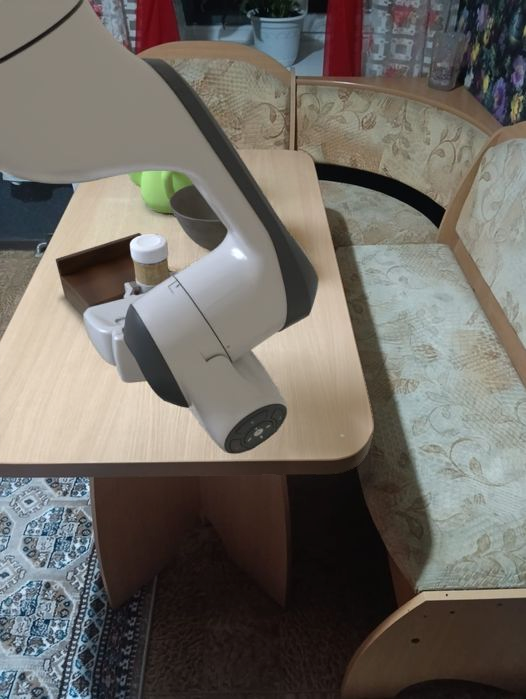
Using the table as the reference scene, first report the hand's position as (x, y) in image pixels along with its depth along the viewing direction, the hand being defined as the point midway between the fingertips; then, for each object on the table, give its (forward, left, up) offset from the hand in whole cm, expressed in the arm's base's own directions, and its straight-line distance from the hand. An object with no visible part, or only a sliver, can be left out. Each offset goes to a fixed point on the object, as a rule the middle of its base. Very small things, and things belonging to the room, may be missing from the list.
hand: (151, 281), depth 71 cm
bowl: (+25, +33, -17) cm, 45 cm away
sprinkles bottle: (0, -1, -7) cm, 7 cm away
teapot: (+24, +57, -17) cm, 64 cm away
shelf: (+1, +23, -17) cm, 29 cm away
